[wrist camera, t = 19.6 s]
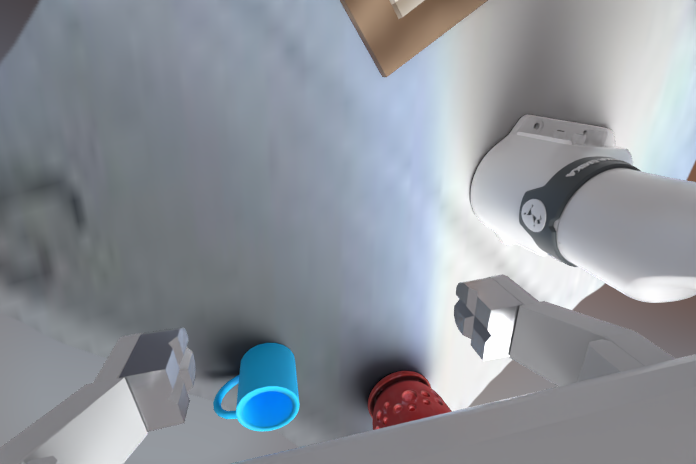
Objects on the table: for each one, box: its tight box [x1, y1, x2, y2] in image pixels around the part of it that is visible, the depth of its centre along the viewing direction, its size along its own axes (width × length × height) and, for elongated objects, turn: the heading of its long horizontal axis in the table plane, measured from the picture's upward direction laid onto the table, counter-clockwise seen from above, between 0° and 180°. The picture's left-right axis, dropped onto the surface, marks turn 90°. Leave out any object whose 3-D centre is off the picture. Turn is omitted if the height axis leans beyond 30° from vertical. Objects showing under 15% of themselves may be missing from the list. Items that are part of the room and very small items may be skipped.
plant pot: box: [368, 371, 452, 430], centre depth 55 cm, size 13×13×12 cm
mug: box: [213, 343, 299, 431], centre depth 48 cm, size 12×8×8 cm
